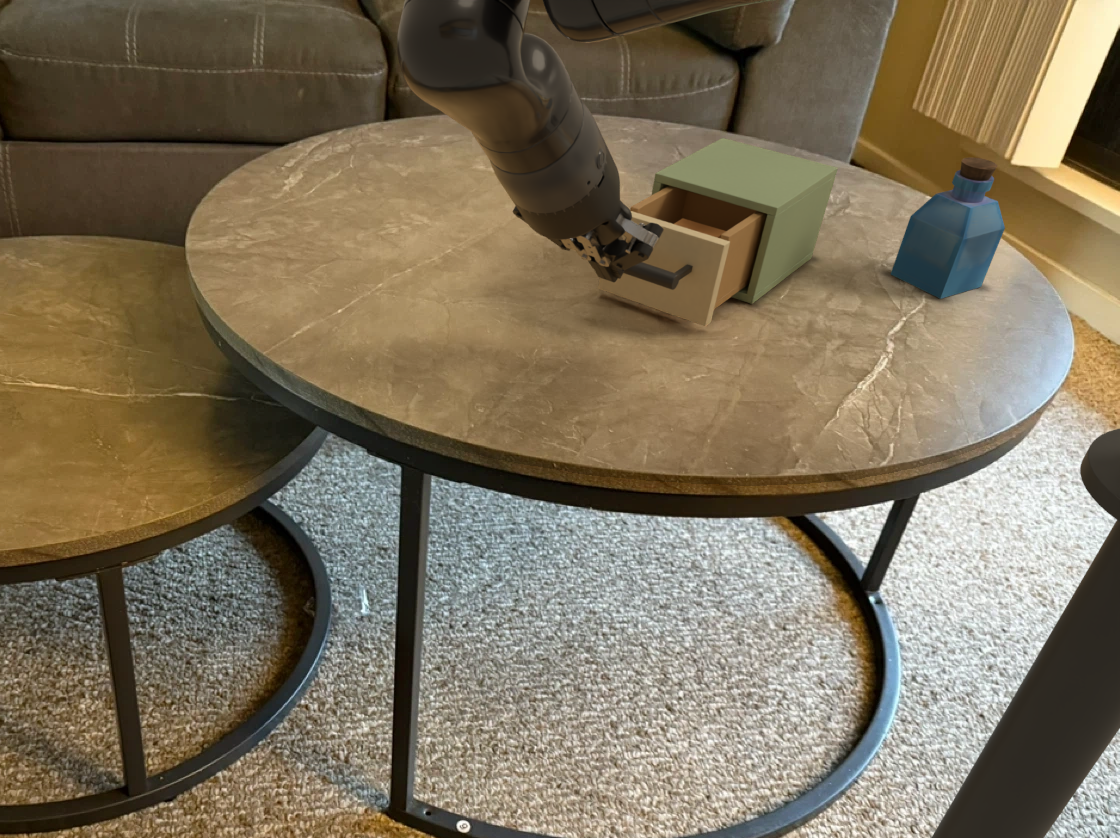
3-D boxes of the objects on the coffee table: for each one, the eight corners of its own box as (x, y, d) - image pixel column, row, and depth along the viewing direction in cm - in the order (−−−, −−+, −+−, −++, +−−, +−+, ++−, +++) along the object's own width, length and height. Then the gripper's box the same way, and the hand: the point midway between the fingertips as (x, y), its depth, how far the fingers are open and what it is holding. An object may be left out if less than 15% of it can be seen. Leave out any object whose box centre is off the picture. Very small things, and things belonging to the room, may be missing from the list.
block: (715, 276, 102) (726, 231, 100) (694, 292, 100) (705, 245, 97) (673, 262, 105) (682, 217, 102) (651, 277, 102) (660, 231, 99)
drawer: (683, 343, 94) (702, 260, 89) (574, 302, 99) (586, 223, 94) (767, 279, 105) (788, 202, 100) (665, 246, 110) (679, 172, 105)
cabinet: (752, 304, 102) (777, 208, 96) (637, 265, 108) (655, 173, 102) (811, 258, 111) (838, 167, 105) (703, 225, 117) (722, 137, 111)
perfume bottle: (940, 298, 105) (986, 179, 97) (890, 274, 109) (930, 157, 101) (981, 286, 107) (1029, 169, 100) (930, 263, 111) (973, 148, 104)
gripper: (452, 185, 78) (528, 285, 93) (608, 235, 71) (661, 334, 87) (501, 94, 78) (568, 210, 93) (661, 137, 71) (705, 254, 86)
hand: (613, 270), depth 90 cm, fingers closed
